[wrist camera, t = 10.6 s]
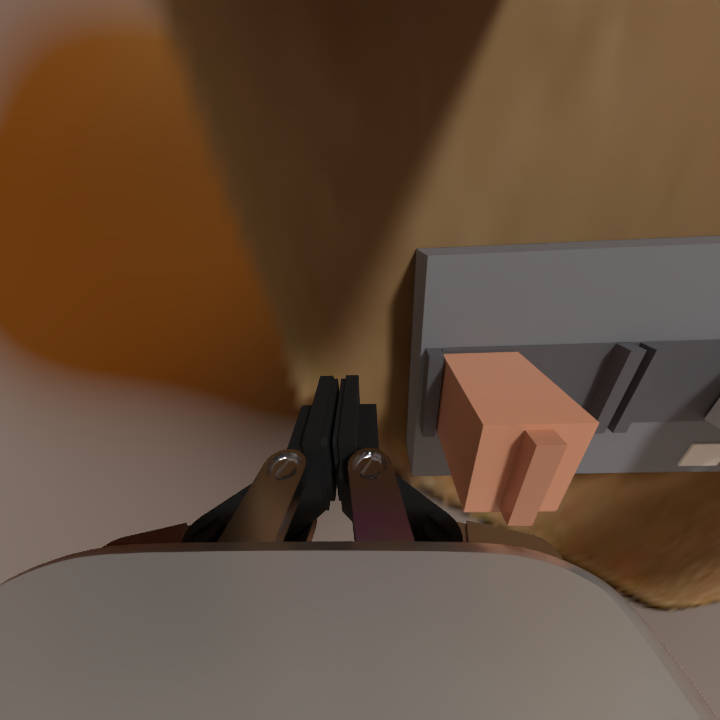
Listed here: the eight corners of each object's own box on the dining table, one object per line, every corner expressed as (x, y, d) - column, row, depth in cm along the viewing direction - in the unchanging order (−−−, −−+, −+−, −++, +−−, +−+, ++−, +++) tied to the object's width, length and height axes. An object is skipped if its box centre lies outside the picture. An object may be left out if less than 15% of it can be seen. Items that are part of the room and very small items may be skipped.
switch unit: (1038, 221, 11) (1275, 223, 8) (818, 438, 17) (912, 484, 14) (416, 248, 12) (432, 258, 9) (405, 445, 18) (413, 490, 15)
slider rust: (518, 351, 11) (617, 438, 7) (499, 423, 13) (567, 528, 9) (442, 353, 12) (492, 440, 7) (434, 425, 13) (469, 529, 9)
